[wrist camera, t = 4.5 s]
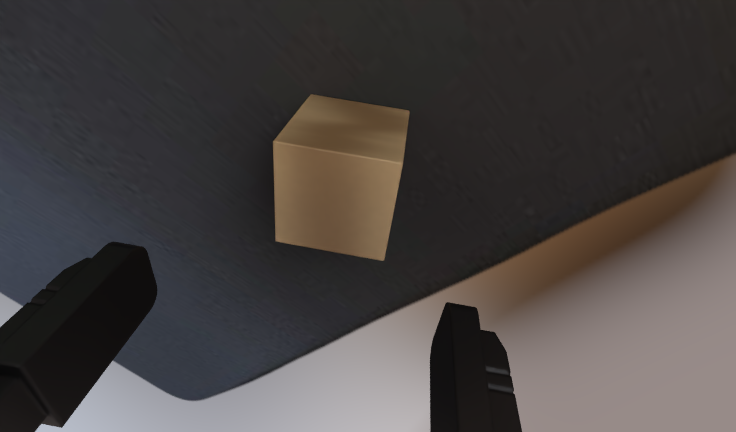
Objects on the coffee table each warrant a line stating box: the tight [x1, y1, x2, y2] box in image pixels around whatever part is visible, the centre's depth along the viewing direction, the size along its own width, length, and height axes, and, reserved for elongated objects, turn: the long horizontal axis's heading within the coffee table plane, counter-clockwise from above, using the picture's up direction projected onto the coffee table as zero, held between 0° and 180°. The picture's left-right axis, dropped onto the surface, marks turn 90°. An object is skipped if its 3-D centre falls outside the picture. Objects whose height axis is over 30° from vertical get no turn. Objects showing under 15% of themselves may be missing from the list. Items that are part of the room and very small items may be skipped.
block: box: [273, 94, 410, 261], centre depth 16 cm, size 4×4×5 cm
